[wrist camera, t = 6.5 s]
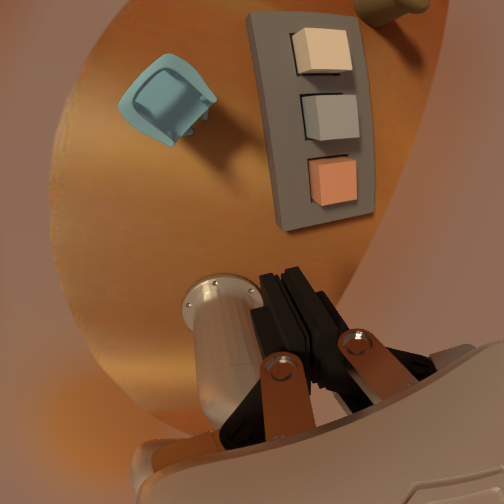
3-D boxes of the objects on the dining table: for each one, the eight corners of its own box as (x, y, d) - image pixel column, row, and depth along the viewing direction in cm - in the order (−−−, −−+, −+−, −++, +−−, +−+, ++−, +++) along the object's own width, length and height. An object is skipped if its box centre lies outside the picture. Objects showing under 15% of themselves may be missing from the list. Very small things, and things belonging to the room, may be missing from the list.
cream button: (335, 73, 27) (352, 70, 24) (298, 73, 27) (311, 69, 23) (329, 37, 25) (345, 30, 22) (291, 36, 24) (304, 27, 21)
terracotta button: (342, 190, 36) (356, 199, 33) (308, 196, 36) (321, 205, 32) (340, 154, 34) (355, 160, 30) (305, 159, 33) (318, 165, 30)
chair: (177, 150, 31) (170, 168, 21) (128, 109, 27) (96, 107, 17) (222, 104, 30) (238, 97, 19) (173, 61, 26) (163, 34, 15)
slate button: (342, 133, 31) (359, 137, 28) (306, 137, 31) (320, 140, 27) (338, 95, 29) (355, 94, 25) (301, 97, 28) (315, 95, 25)
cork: (392, 14, 25) (441, 2, 16) (376, 34, 27) (428, 22, 18) (364, -12, 23) (409, -33, 13) (346, 6, 25) (393, -16, 15)
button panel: (363, 205, 40) (374, 212, 37) (276, 223, 38) (282, 231, 36) (346, 22, 26) (357, 17, 23) (245, 19, 25) (249, 12, 22)
